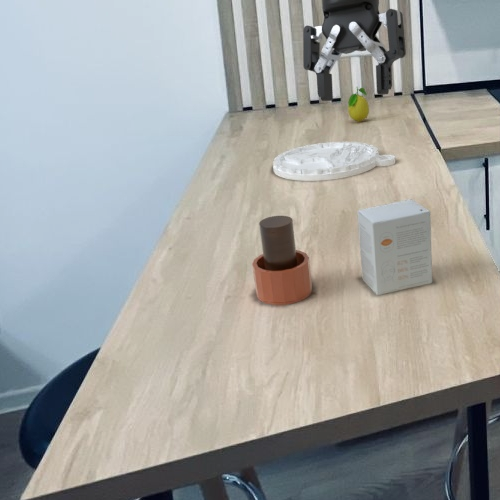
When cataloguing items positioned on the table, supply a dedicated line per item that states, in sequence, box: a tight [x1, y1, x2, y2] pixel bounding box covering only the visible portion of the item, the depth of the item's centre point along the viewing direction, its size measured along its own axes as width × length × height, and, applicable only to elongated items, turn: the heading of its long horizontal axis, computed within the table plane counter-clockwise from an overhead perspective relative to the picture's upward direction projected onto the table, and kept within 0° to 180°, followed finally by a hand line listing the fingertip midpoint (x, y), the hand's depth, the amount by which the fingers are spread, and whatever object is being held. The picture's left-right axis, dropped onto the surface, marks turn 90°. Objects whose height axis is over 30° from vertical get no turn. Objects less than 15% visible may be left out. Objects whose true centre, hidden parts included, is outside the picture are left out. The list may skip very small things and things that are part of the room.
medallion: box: [272, 140, 396, 182], centre depth 145 cm, size 24×27×2 cm
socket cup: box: [251, 249, 313, 306], centre depth 89 cm, size 8×8×5 cm
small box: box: [357, 198, 433, 296], centre depth 87 cm, size 8×6×10 cm
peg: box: [258, 215, 297, 271], centre depth 88 cm, size 4×4×10 cm
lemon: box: [347, 86, 370, 123], centre depth 179 cm, size 7×6×10 cm
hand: (354, 97), depth 90 cm, fingers open, 8 cm apart
